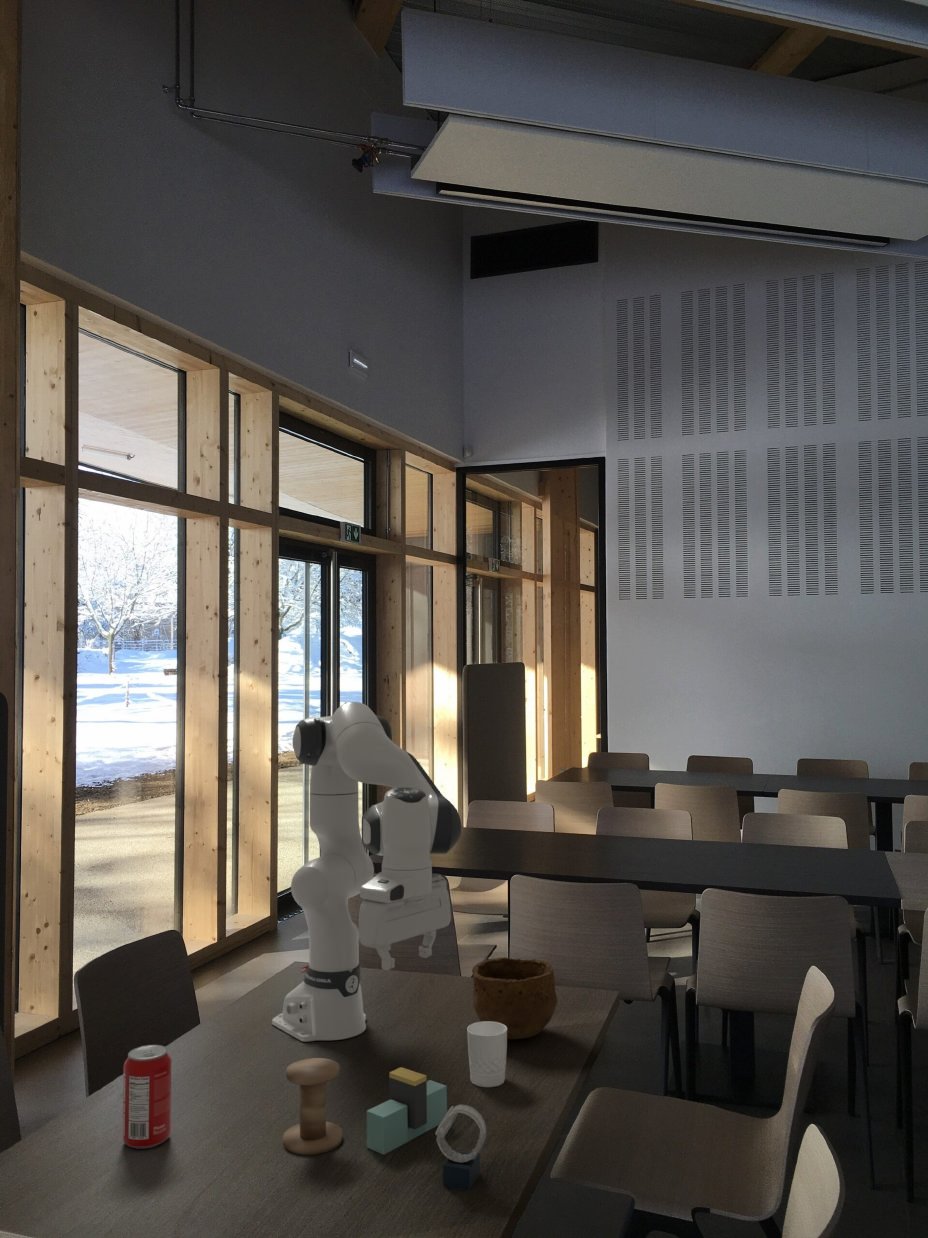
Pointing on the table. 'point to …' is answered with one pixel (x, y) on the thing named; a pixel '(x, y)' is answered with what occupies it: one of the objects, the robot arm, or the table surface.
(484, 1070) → the white cup
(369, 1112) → the notch board
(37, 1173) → the table surface
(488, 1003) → the bowl
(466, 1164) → the watch
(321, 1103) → the bobbin
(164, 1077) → the soda can
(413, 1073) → the yellow and black block
